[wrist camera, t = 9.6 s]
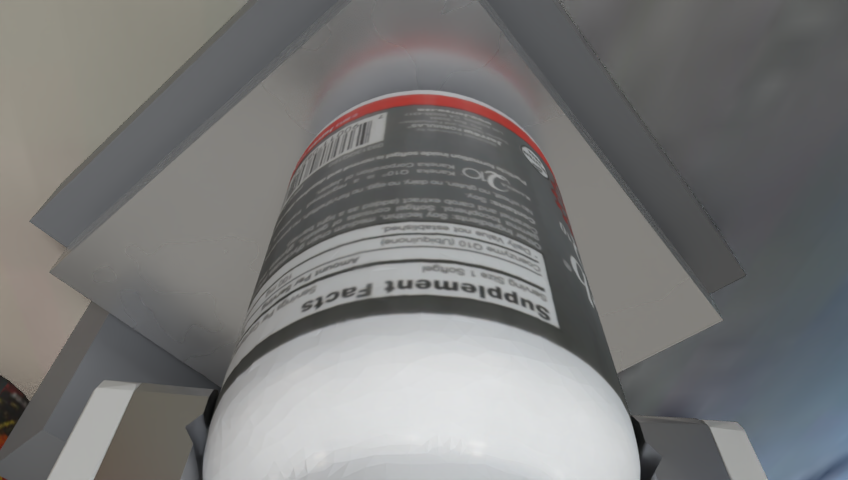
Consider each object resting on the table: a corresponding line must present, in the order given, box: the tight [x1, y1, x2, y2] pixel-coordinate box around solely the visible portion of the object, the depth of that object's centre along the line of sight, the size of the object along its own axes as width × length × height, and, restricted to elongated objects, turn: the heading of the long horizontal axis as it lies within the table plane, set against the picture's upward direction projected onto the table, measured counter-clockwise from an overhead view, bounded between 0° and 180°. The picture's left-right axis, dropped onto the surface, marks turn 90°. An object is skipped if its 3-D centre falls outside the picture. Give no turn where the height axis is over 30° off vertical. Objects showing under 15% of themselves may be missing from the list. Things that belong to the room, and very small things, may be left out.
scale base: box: [0, 0, 746, 480], centre depth 18 cm, size 17×14×7 cm
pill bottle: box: [203, 90, 640, 480], centre depth 10 cm, size 6×6×10 cm
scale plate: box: [50, 0, 723, 387], centre depth 17 cm, size 12×12×1 cm
